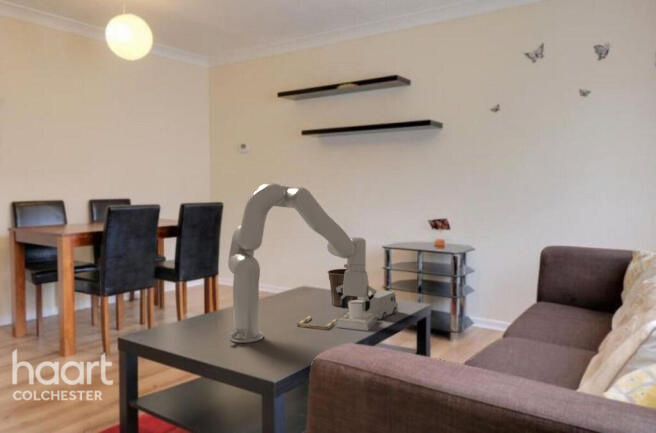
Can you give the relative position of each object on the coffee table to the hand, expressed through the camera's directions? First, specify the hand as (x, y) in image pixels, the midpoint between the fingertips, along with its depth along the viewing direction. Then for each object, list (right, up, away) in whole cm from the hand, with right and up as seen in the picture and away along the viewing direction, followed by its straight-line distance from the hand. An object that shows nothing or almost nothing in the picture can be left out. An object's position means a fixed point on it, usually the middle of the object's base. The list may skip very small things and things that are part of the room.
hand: (355, 309), depth 199 cm
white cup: (0, -4, 0) cm, 4 cm away
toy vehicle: (+12, -6, +15) cm, 20 cm away
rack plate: (0, -6, 0) cm, 6 cm away
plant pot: (-4, -5, +34) cm, 35 cm away
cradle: (-16, -6, +1) cm, 17 cm away
